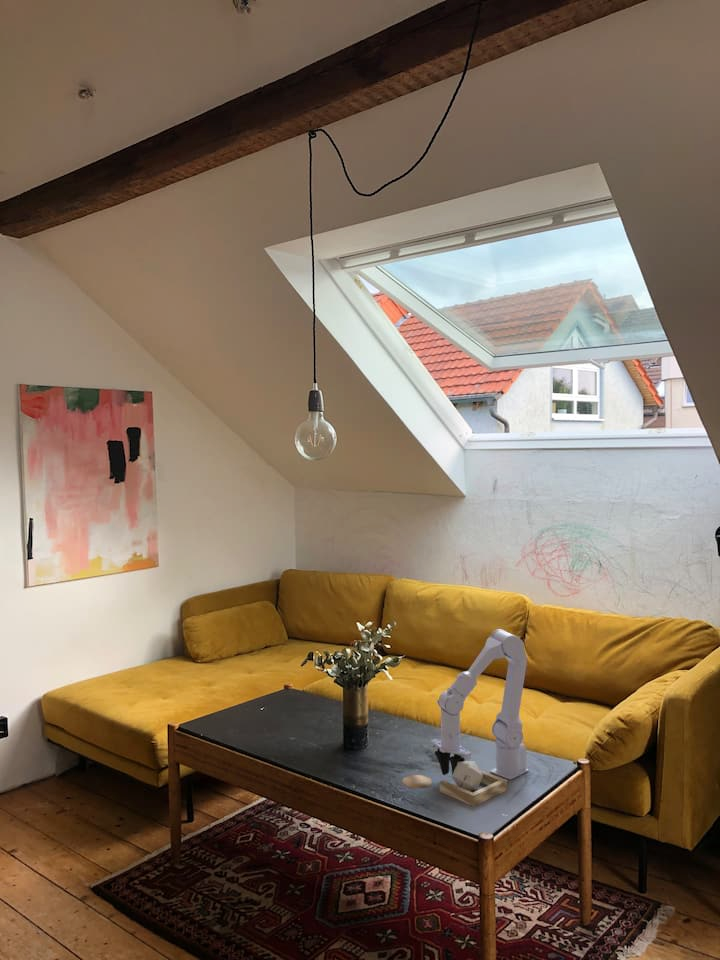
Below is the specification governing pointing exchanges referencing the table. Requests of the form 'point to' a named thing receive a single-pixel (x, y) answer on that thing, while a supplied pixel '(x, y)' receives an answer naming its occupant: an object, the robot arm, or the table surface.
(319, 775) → the table surface
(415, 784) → the coaster
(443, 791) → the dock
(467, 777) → the die
